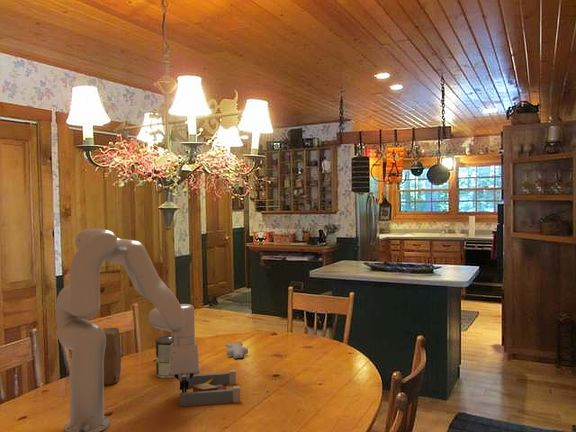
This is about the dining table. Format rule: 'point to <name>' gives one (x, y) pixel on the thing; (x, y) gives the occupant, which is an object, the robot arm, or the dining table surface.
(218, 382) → the chute
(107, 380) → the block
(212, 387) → the toy sandwich meal
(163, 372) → the coffee can
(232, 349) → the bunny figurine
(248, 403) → the dining table surface
